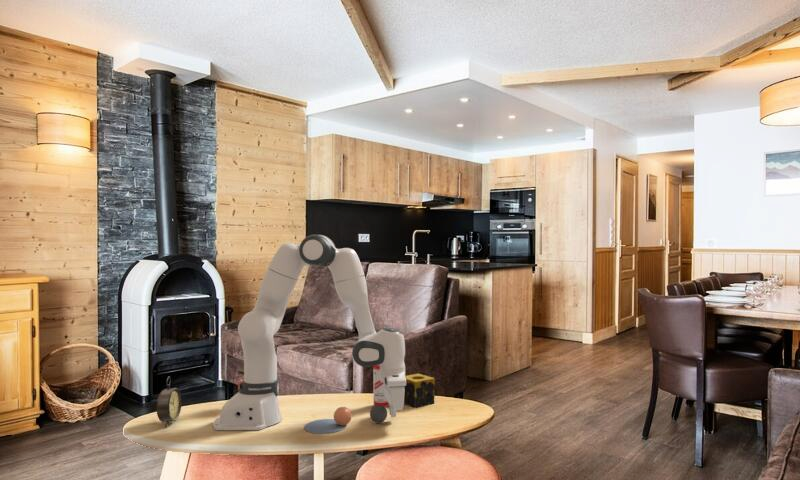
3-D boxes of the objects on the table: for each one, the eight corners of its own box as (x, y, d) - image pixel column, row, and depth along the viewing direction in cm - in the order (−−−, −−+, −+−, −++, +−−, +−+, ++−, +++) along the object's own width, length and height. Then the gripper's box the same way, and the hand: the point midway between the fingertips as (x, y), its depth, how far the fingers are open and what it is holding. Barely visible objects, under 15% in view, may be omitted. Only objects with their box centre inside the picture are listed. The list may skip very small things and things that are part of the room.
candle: (398, 402, 193) (398, 376, 193) (418, 398, 199) (418, 373, 199) (414, 408, 185) (414, 381, 185) (435, 403, 191) (434, 377, 191)
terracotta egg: (355, 421, 165) (339, 431, 163) (353, 416, 170) (338, 425, 169) (346, 406, 164) (330, 416, 163) (345, 401, 170) (330, 410, 169)
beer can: (389, 408, 185) (389, 365, 186) (372, 408, 185) (372, 365, 186) (390, 403, 191) (389, 361, 192) (374, 403, 192) (373, 362, 192)
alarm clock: (169, 429, 164) (170, 380, 165) (153, 429, 164) (153, 380, 164) (182, 418, 175) (182, 372, 176) (166, 419, 175) (167, 372, 175)
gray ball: (392, 413, 167) (381, 429, 166) (388, 408, 173) (378, 423, 172) (378, 404, 166) (367, 419, 165) (375, 399, 172) (365, 413, 171)
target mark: (304, 435, 157) (304, 434, 157) (304, 421, 171) (304, 420, 171) (348, 431, 160) (348, 431, 160) (344, 418, 174) (344, 417, 174)
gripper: (379, 369, 180) (379, 407, 180) (388, 383, 160) (388, 426, 159) (396, 368, 181) (396, 406, 181) (407, 382, 161) (407, 424, 161)
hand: (392, 416), depth 170 cm, fingers closed
